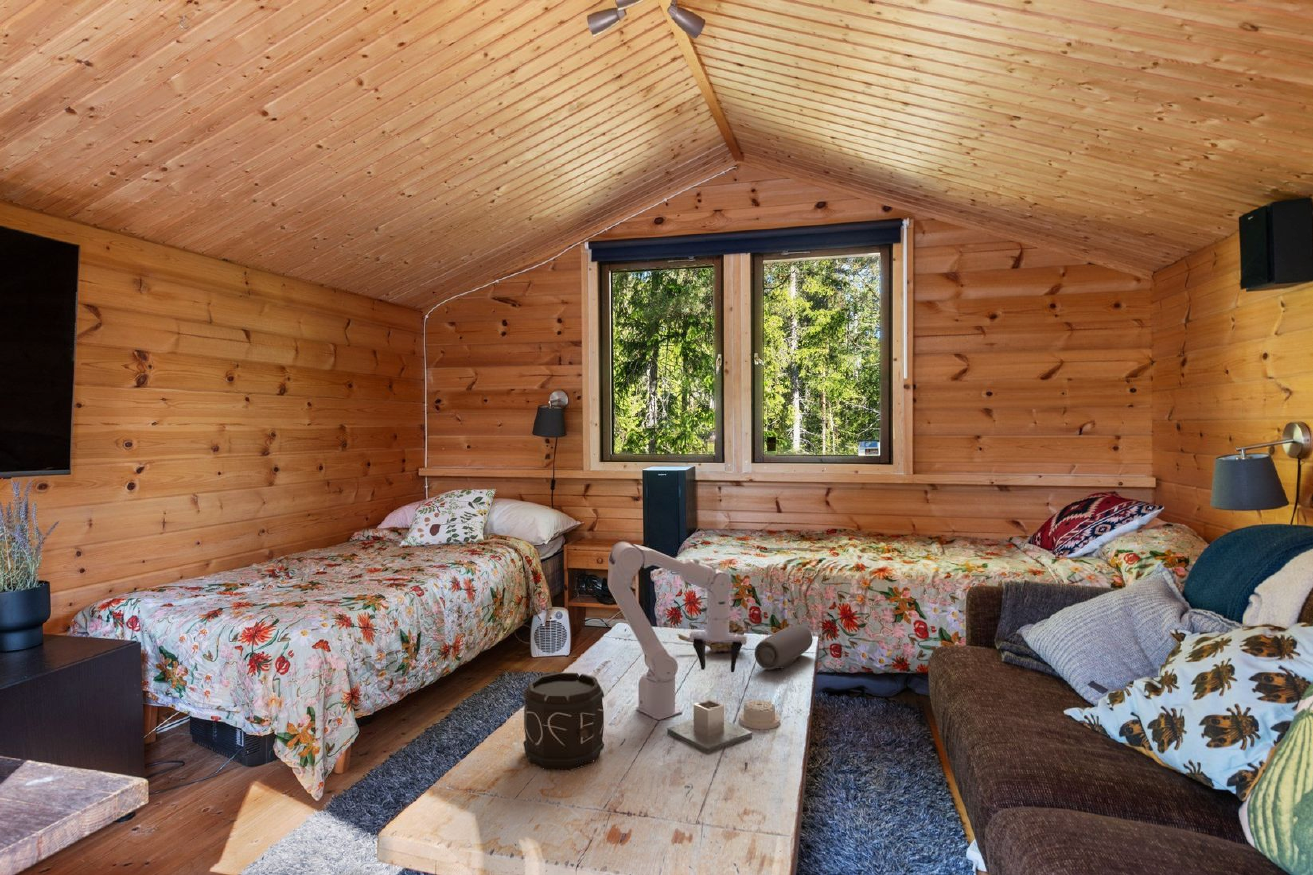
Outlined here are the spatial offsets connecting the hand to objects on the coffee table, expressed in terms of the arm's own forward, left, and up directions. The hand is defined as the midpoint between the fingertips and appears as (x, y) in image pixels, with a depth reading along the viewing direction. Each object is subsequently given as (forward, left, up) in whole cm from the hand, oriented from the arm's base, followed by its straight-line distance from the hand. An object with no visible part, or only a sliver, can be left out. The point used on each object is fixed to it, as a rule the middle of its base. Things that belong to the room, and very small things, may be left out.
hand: (717, 669), depth 196 cm
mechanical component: (+14, +1, -10) cm, 17 cm away
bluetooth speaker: (-13, +40, -10) cm, 43 cm away
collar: (+12, -14, -8) cm, 20 cm away
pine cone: (-35, +30, -10) cm, 47 cm away
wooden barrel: (0, -46, -10) cm, 47 cm away
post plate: (+12, -14, -9) cm, 21 cm away
